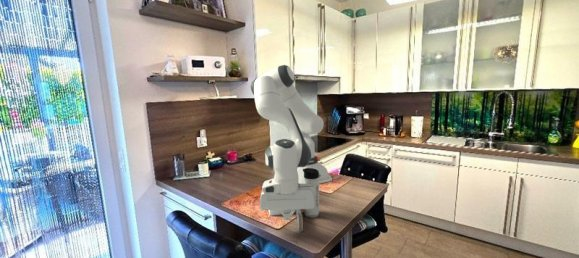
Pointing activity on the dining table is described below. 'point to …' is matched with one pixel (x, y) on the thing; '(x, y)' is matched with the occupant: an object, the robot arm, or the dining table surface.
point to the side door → (299, 219)
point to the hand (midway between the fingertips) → (287, 219)
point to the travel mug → (313, 178)
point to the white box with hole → (278, 212)
